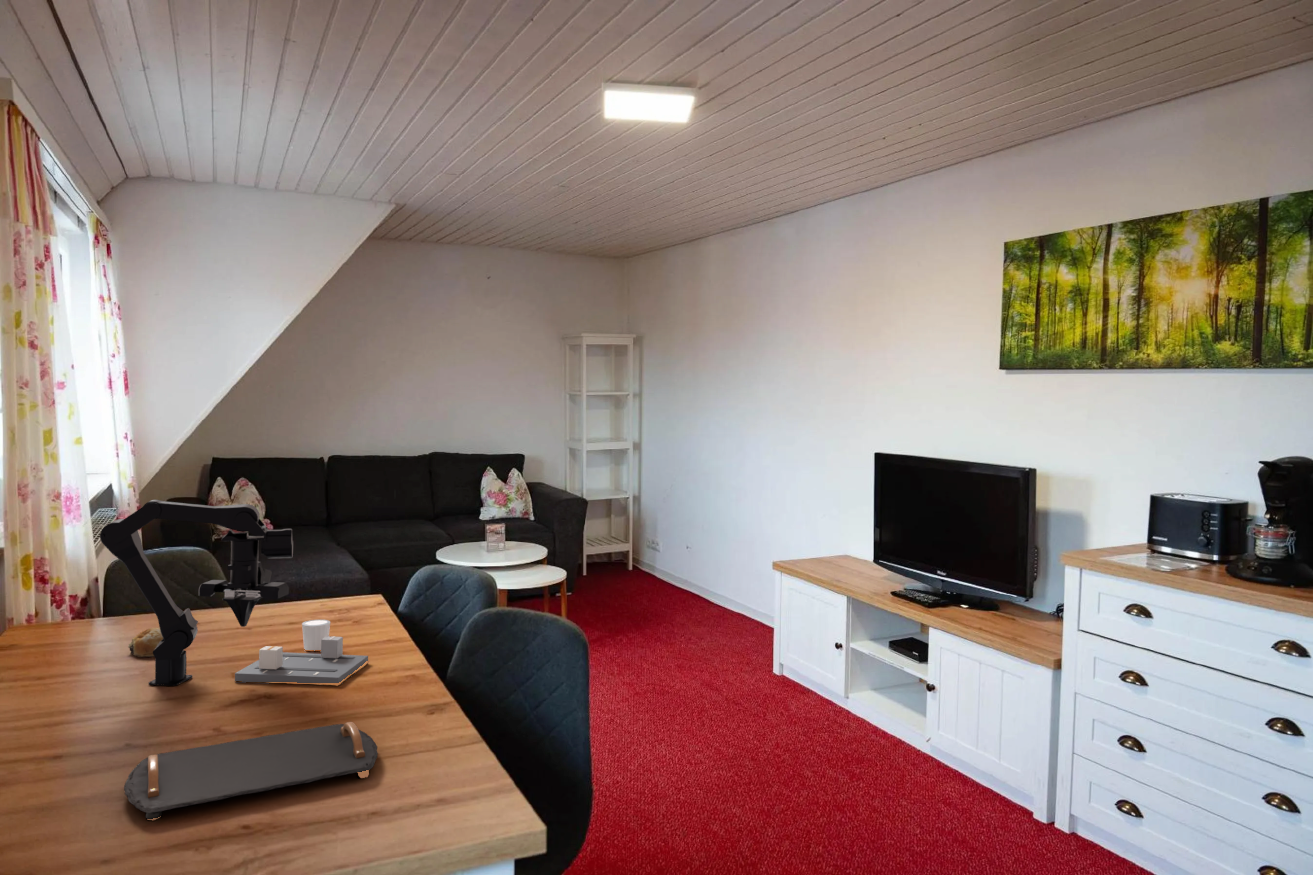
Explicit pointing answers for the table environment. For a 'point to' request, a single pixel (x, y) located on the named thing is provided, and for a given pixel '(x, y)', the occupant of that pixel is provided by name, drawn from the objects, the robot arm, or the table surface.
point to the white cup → (315, 633)
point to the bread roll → (145, 642)
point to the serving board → (247, 767)
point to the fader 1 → (270, 657)
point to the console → (304, 669)
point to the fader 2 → (331, 647)
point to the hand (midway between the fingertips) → (243, 626)
